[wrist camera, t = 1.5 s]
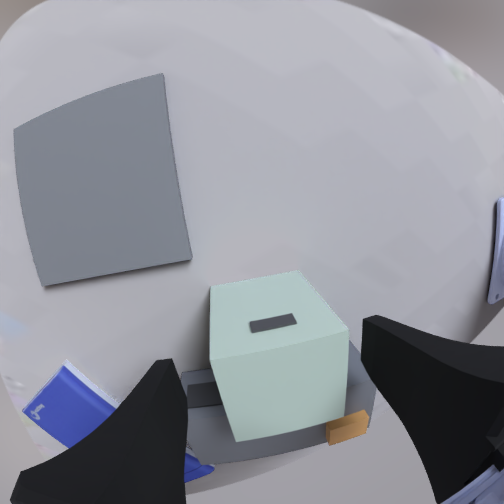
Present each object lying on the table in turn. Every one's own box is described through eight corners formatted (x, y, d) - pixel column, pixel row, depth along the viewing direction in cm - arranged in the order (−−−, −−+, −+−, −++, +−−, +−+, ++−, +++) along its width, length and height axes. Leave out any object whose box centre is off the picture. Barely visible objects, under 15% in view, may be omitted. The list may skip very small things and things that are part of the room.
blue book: (20, 413, 12) (147, 495, 16) (59, 369, 12) (215, 472, 15) (28, 400, 14) (149, 481, 17) (69, 354, 13) (214, 456, 17)
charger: (297, 268, 13) (348, 327, 8) (305, 367, 14) (340, 441, 9) (210, 284, 13) (208, 357, 7) (233, 382, 14) (244, 464, 9)
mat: (163, 76, 10) (162, 73, 9) (192, 256, 12) (191, 259, 12) (17, 130, 9) (13, 129, 9) (45, 283, 11) (41, 286, 11)
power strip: (348, 336, 14) (384, 382, 10) (346, 389, 15) (373, 434, 11) (181, 370, 13) (175, 429, 10) (201, 420, 15) (201, 473, 11)
